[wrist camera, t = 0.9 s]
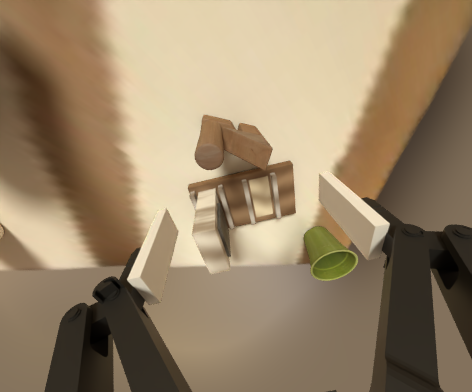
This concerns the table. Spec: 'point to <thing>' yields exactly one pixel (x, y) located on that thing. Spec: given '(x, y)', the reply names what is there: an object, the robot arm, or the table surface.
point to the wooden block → (230, 143)
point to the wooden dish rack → (238, 207)
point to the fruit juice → (1, 232)
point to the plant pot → (328, 255)
